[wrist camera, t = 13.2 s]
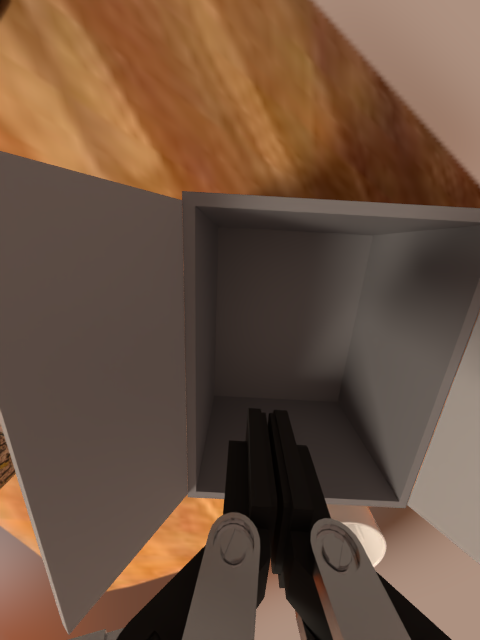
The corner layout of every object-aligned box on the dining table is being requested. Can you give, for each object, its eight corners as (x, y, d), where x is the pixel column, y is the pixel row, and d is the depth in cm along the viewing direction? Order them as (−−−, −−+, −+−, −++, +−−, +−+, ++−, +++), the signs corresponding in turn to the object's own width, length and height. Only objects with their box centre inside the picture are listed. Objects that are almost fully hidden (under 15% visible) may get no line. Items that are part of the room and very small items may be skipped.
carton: (213, 220, 22) (182, 191, 11) (377, 229, 23) (516, 210, 11) (210, 396, 28) (187, 497, 17) (339, 403, 28) (405, 507, 17)
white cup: (286, 483, 33) (305, 581, 23) (280, 439, 30) (297, 527, 21) (343, 477, 32) (386, 574, 23) (341, 431, 30) (387, 518, 20)
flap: (187, 493, 17) (181, 489, 17) (182, 200, 11) (173, 200, 11) (68, 635, 11) (62, 623, 11) (-86, 127, 5) (-90, 133, 5)
